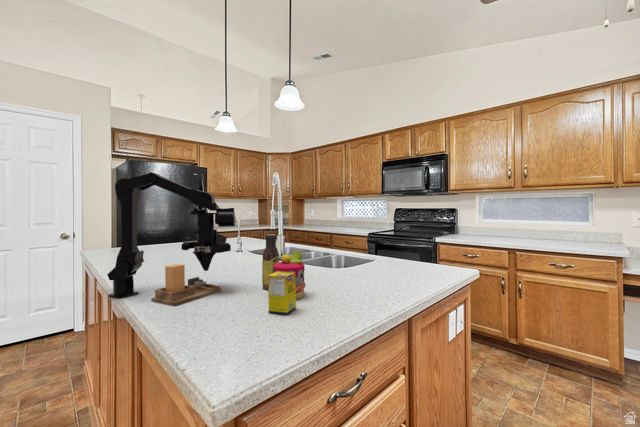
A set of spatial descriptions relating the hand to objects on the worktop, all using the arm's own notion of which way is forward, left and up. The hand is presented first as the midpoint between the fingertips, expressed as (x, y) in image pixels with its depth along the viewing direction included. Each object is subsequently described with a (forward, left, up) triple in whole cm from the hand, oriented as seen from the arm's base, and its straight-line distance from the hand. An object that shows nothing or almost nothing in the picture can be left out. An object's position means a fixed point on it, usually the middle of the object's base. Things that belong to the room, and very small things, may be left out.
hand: (206, 270), depth 108 cm
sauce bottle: (+18, +14, -8) cm, 24 cm away
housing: (-1, -7, -7) cm, 10 cm away
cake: (+30, +8, -8) cm, 32 cm away
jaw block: (-2, -11, -6) cm, 13 cm away
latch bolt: (-3, 0, -6) cm, 7 cm away
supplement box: (+36, -5, -8) cm, 37 cm away
